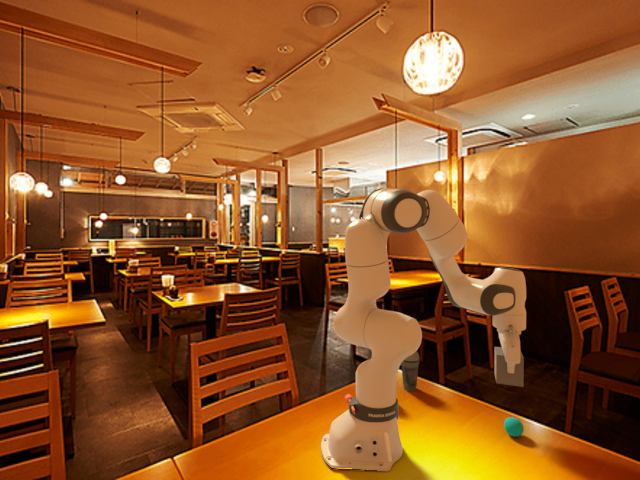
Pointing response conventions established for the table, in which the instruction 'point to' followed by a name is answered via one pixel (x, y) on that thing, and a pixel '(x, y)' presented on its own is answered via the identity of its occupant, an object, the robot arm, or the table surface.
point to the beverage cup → (410, 371)
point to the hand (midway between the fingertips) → (508, 366)
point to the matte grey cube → (501, 370)
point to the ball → (513, 427)
